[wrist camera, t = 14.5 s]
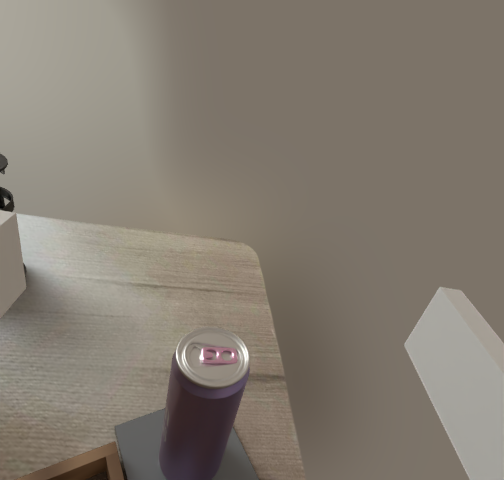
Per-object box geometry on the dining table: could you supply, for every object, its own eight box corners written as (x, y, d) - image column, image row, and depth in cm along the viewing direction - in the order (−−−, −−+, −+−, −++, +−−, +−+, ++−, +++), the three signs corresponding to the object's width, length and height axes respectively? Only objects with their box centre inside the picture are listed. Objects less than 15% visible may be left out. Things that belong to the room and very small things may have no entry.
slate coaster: (145, 556, 28) (145, 553, 28) (114, 429, 36) (114, 426, 35) (261, 490, 34) (263, 487, 33) (213, 393, 41) (214, 390, 41)
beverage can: (222, 490, 32) (257, 389, 25) (155, 494, 31) (170, 388, 24) (218, 427, 37) (247, 325, 30) (160, 427, 36) (175, 322, 28)
